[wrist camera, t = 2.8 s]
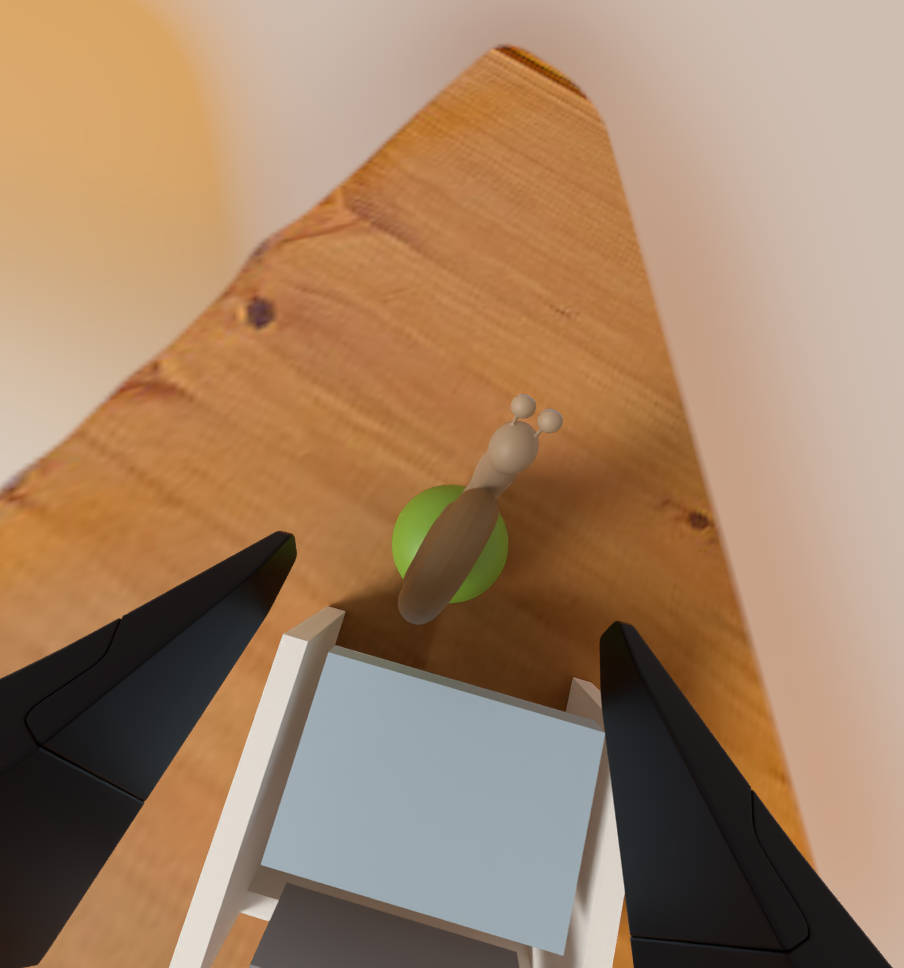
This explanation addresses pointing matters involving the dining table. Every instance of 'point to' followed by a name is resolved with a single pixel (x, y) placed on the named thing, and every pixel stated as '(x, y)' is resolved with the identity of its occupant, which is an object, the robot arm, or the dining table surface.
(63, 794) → the robot arm
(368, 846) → the trapdoor
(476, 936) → the frame
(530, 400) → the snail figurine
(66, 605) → the dining table surface
